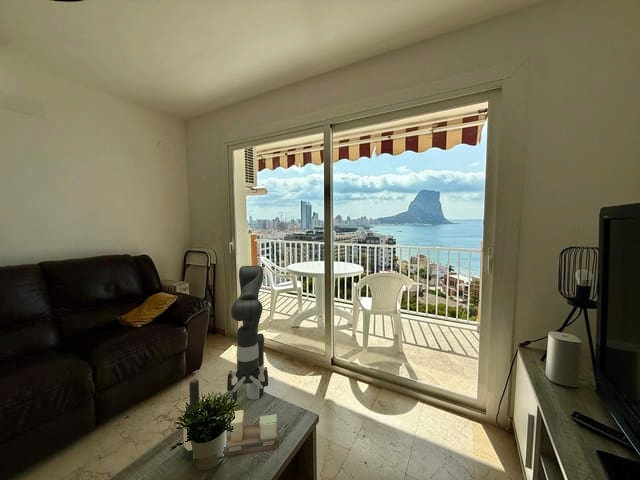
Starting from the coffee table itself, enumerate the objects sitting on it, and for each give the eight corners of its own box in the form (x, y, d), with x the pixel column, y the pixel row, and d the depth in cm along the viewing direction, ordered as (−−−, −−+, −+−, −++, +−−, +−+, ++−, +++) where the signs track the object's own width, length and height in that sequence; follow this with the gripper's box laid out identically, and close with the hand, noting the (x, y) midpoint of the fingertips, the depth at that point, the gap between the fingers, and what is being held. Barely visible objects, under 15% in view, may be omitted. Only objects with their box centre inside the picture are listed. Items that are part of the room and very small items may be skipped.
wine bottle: (197, 462, 97) (196, 388, 95) (179, 458, 99) (177, 385, 97) (211, 444, 105) (209, 375, 103) (193, 441, 107) (192, 373, 105)
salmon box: (231, 442, 104) (230, 423, 104) (233, 428, 111) (233, 411, 110) (242, 440, 105) (242, 421, 105) (244, 427, 112) (244, 409, 111)
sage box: (260, 434, 108) (259, 416, 108) (276, 431, 109) (276, 414, 109) (259, 443, 103) (259, 424, 103) (276, 440, 105) (276, 422, 104)
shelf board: (222, 433, 111) (222, 426, 110) (277, 425, 115) (277, 417, 115) (216, 459, 99) (216, 450, 98) (278, 448, 103) (278, 440, 103)
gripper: (268, 348, 95) (268, 389, 96) (228, 351, 92) (229, 394, 93) (267, 358, 88) (268, 402, 89) (225, 362, 85) (226, 408, 86)
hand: (248, 398), depth 91 cm, fingers open, 8 cm apart
